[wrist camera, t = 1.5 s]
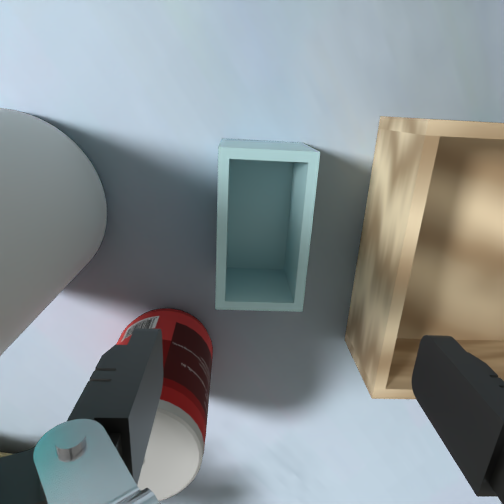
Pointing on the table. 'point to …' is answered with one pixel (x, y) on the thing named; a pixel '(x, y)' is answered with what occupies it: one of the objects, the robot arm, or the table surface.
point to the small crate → (264, 224)
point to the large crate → (429, 249)
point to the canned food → (176, 401)
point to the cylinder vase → (42, 218)
